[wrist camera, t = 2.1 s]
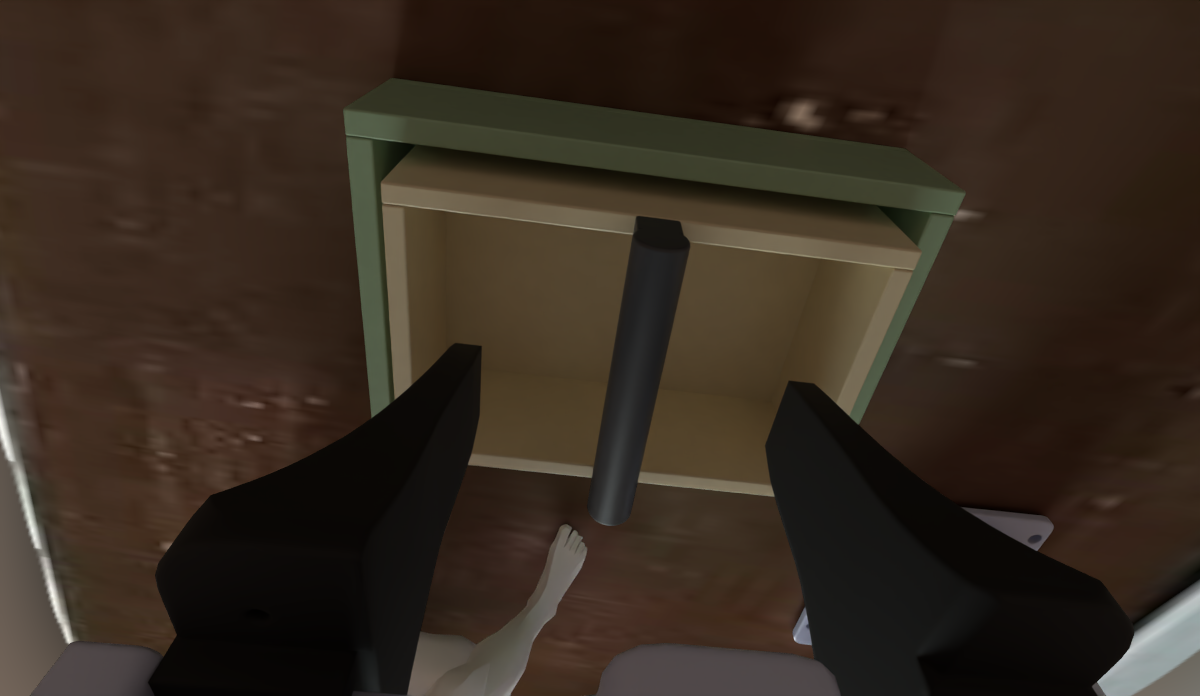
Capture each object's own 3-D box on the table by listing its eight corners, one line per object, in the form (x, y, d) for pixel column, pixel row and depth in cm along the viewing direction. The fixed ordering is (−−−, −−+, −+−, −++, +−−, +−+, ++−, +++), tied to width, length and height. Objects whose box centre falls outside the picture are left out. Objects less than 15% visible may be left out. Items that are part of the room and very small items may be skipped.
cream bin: (778, 406, 22) (829, 548, 17) (434, 368, 21) (378, 504, 16) (858, 186, 18) (959, 286, 13) (429, 129, 17) (351, 210, 12)
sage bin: (796, 426, 23) (824, 500, 20) (406, 383, 22) (374, 453, 19) (906, 148, 17) (967, 192, 14) (390, 77, 17) (342, 108, 14)
